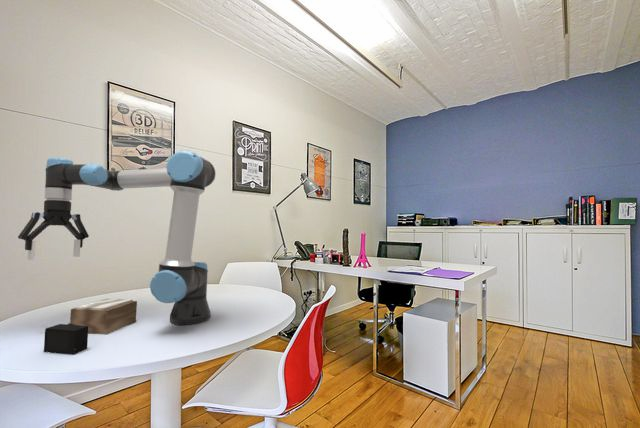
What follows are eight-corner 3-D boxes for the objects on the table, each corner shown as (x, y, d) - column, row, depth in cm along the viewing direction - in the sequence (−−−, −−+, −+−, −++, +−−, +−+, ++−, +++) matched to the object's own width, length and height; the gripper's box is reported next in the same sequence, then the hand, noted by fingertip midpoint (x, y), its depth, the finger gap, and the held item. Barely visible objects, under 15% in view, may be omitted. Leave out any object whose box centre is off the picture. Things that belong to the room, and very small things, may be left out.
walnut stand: (136, 321, 115) (137, 299, 115) (106, 334, 101) (108, 308, 101) (102, 320, 116) (104, 298, 117) (69, 332, 102) (71, 307, 103)
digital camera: (91, 347, 90) (92, 324, 90) (73, 355, 84) (75, 330, 85) (62, 345, 91) (63, 322, 92) (43, 352, 86) (45, 328, 86)
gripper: (89, 203, 122) (86, 255, 120) (6, 197, 99) (2, 260, 98) (100, 203, 119) (98, 255, 118) (18, 196, 96) (14, 261, 95)
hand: (55, 258), depth 108 cm, fingers open, 13 cm apart
